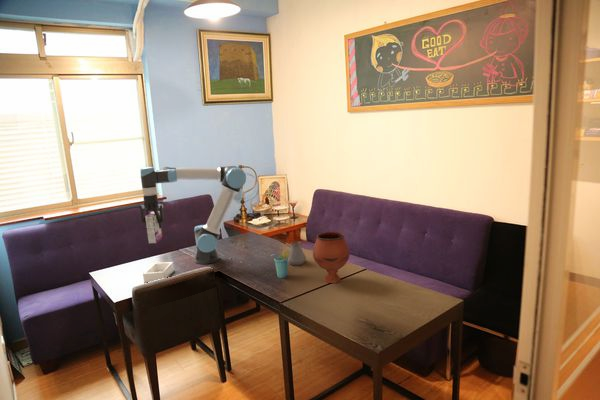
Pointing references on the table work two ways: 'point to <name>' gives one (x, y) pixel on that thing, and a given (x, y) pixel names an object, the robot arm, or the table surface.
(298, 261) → the coffee pot
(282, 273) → the cup
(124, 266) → the table surface
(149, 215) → the candy bar box
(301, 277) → the table surface
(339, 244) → the goblet
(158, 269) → the white open box
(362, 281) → the table surface
